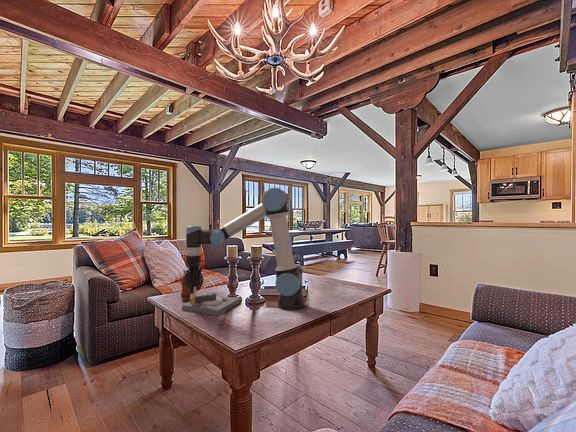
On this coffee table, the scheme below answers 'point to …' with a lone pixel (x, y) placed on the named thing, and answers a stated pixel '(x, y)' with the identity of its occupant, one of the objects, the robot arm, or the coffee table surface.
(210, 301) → the dial
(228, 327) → the coffee table surface
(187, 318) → the coffee table surface
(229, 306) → the dial plate
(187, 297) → the mug
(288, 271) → the robot arm
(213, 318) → the coffee table surface
